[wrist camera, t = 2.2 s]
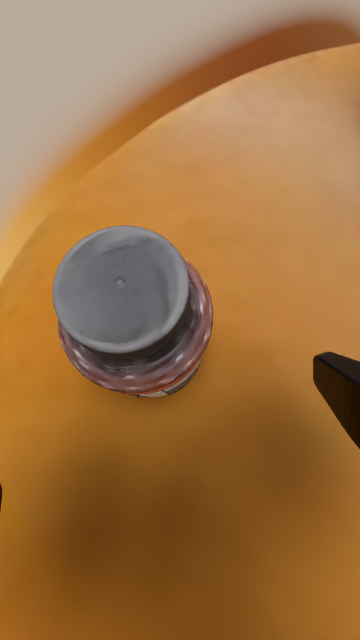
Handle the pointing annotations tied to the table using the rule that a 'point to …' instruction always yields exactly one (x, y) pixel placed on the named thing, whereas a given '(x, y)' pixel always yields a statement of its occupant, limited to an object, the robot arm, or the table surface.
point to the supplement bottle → (132, 311)
